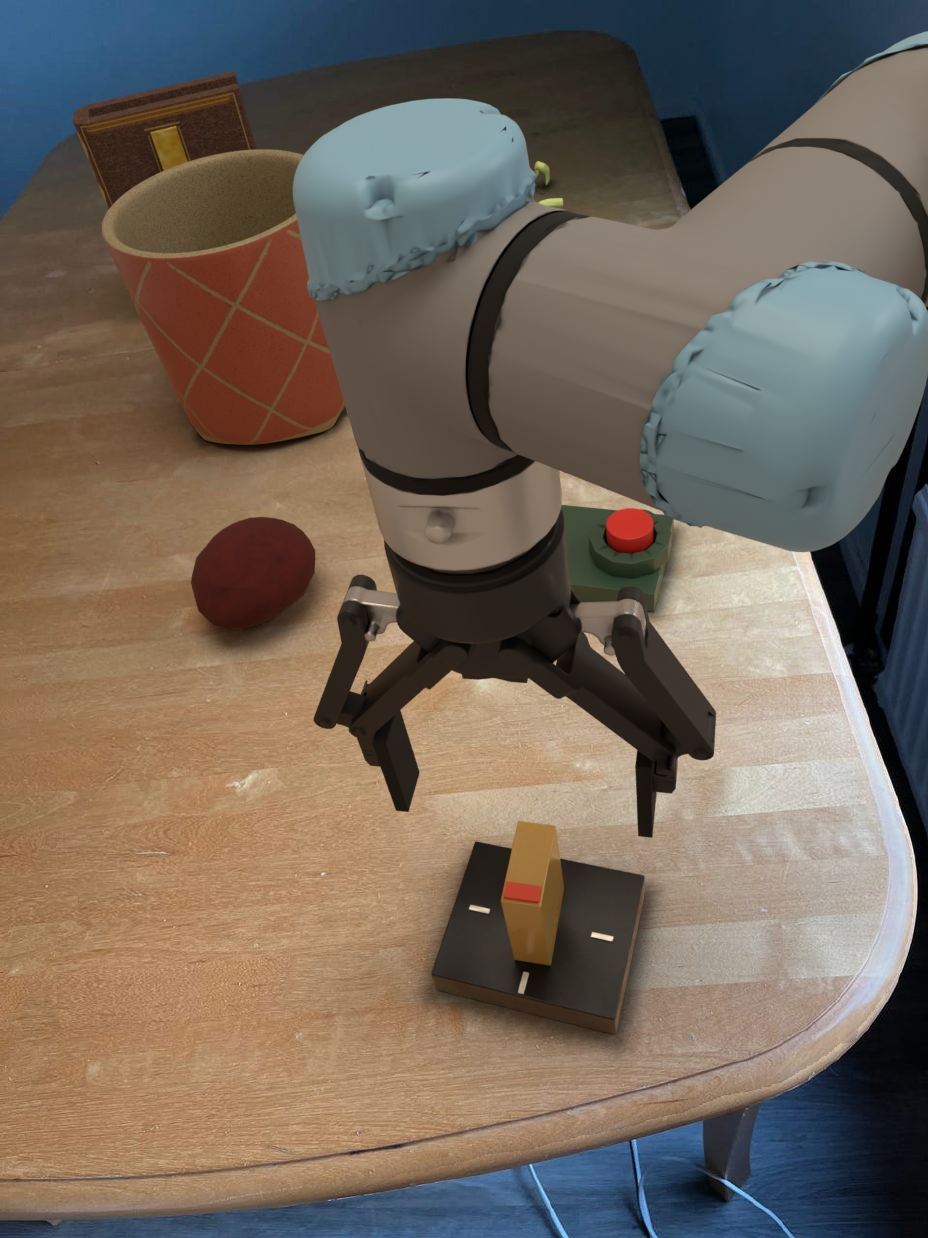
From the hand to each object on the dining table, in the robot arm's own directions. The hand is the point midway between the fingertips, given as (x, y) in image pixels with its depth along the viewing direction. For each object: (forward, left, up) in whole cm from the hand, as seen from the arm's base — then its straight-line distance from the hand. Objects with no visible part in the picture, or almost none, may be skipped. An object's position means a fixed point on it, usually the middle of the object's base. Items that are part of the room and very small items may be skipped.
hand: (524, 803), depth 57 cm
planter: (+46, -57, -17) cm, 75 cm away
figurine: (+35, -100, -17) cm, 107 cm away
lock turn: (0, 0, -14) cm, 14 cm away
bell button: (+1, -36, -13) cm, 38 cm away
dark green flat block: (+4, -36, -17) cm, 39 cm away
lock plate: (0, 0, -17) cm, 17 cm away
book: (+63, -79, -17) cm, 102 cm away
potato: (+33, -26, -17) cm, 45 cm away
